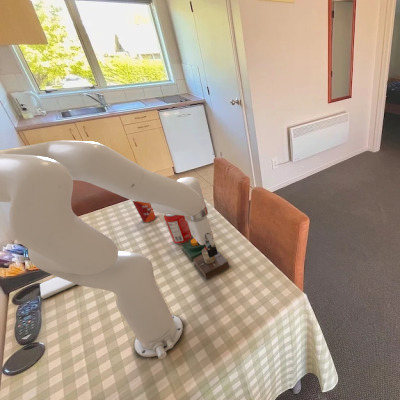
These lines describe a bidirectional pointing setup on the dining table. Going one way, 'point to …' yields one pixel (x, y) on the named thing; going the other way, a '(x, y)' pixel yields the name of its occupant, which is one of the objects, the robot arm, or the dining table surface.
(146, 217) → the paper cup
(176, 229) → the soda can
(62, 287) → the hard drive
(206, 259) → the dimmer knob
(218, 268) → the dimmer panel
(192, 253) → the switch box
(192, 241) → the power button
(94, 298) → the dining table surface
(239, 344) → the dining table surface
